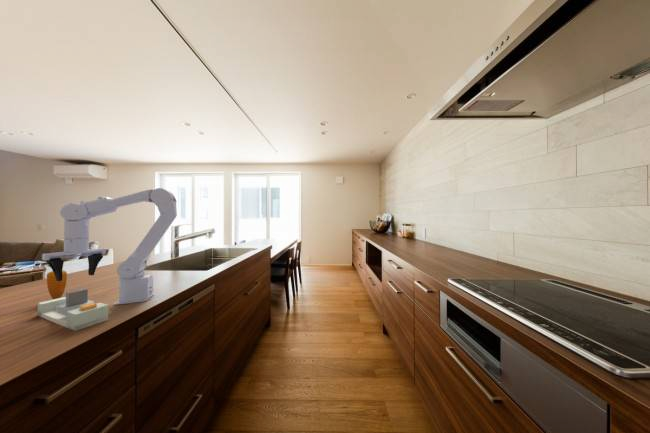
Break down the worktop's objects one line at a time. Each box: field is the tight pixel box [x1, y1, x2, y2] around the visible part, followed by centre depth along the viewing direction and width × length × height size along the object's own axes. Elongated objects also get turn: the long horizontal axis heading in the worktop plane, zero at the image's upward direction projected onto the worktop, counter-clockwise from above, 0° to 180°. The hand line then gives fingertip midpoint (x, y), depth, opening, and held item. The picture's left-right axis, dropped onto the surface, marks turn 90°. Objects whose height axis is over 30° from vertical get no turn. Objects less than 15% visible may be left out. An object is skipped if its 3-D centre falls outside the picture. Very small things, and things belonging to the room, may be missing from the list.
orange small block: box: [80, 302, 97, 311], centre depth 63 cm, size 3×3×4 cm
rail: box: [37, 296, 110, 332], centre depth 67 cm, size 25×7×4 cm, turn 68°
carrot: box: [46, 263, 68, 300], centre depth 81 cm, size 5×5×15 cm
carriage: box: [58, 288, 96, 316], centre depth 66 cm, size 6×6×6 cm
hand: (76, 277), depth 75 cm, fingers open, 7 cm apart
